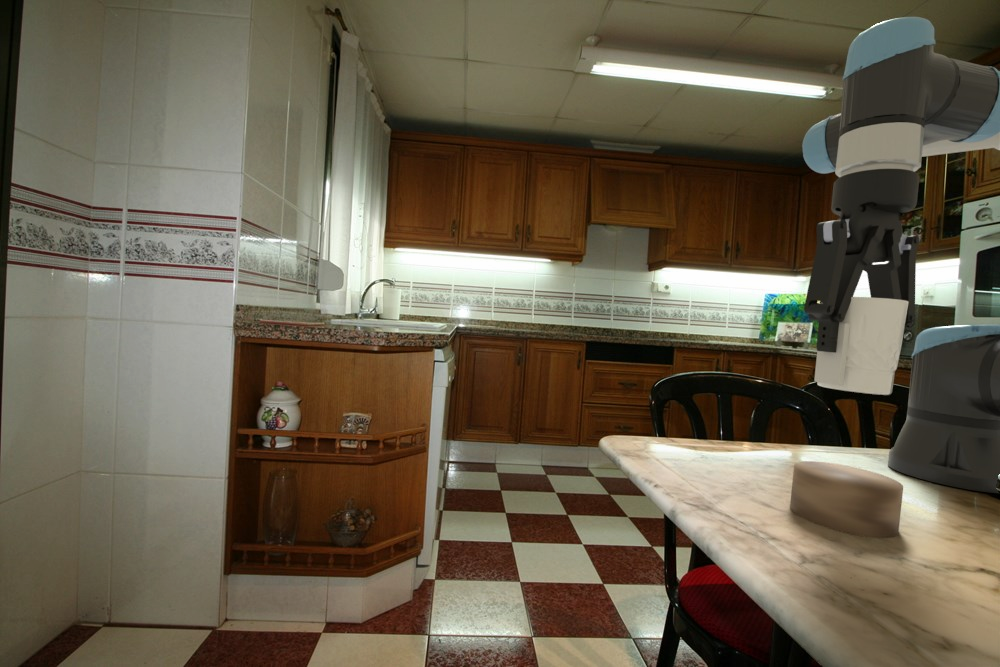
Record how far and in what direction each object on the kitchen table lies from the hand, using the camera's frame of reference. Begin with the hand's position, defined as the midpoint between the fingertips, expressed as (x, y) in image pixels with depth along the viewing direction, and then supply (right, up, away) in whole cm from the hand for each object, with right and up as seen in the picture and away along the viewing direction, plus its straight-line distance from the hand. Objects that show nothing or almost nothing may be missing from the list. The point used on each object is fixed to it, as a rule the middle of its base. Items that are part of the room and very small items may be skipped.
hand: (853, 383), depth 56 cm
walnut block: (-1, -15, 0) cm, 15 cm away
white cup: (0, -1, 0) cm, 1 cm away
